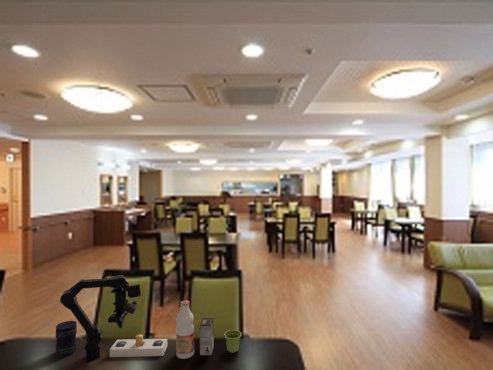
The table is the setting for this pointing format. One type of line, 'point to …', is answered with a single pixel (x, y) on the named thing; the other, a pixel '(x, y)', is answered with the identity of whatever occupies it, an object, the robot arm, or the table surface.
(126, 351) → the console
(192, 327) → the fruit juice
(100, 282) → the robot arm
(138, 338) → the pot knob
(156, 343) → the knob
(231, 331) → the plant pot
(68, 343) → the storage jar
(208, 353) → the coffee box
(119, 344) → the knob
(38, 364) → the table surface
